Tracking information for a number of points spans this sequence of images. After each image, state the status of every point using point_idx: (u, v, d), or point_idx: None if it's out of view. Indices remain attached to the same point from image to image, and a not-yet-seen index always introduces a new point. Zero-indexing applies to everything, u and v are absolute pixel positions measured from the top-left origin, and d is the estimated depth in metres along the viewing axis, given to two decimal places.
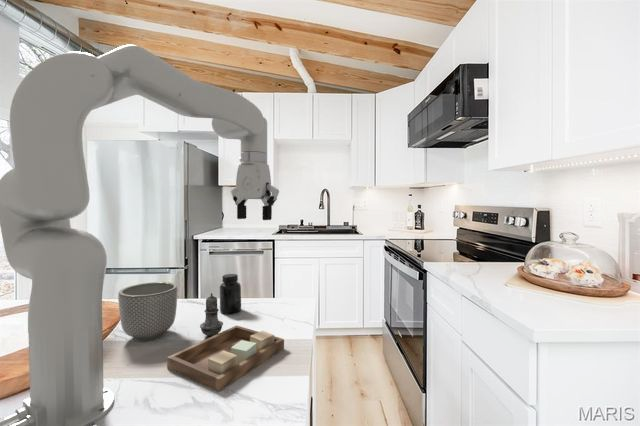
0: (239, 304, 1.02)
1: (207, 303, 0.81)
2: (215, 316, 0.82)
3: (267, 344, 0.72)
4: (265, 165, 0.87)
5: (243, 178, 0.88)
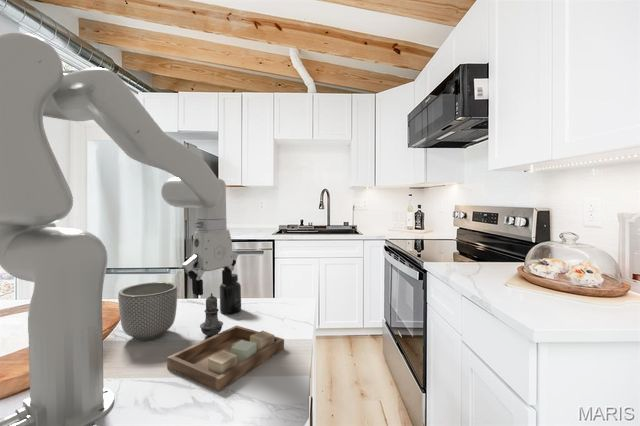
0: (239, 304, 1.02)
1: (207, 303, 0.81)
2: (215, 316, 0.82)
3: (267, 344, 0.72)
4: None
5: (215, 247, 0.79)
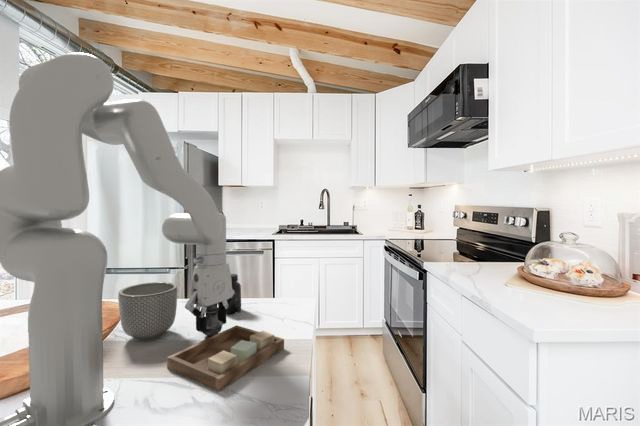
0: (239, 304, 1.02)
1: None
2: (215, 316, 0.82)
3: (267, 344, 0.72)
4: None
5: (214, 282, 0.79)
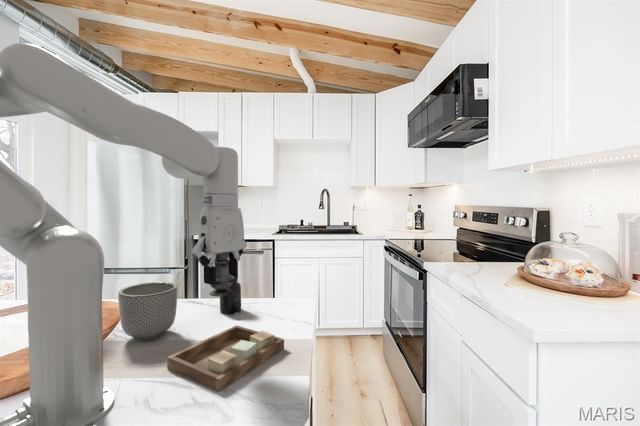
0: (239, 304, 1.02)
1: None
2: (226, 267, 0.71)
3: (267, 344, 0.72)
4: None
5: (225, 227, 0.68)
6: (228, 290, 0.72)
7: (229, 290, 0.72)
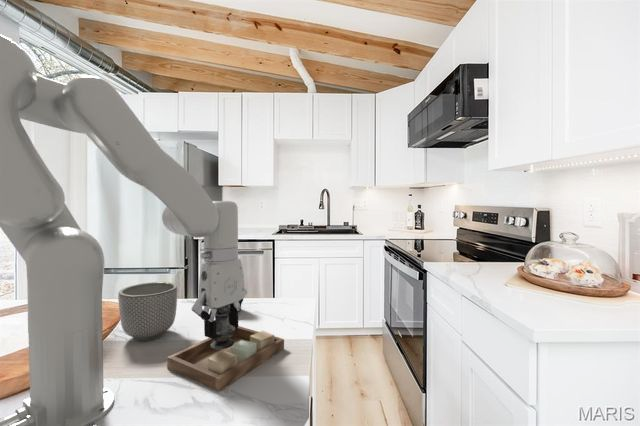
0: None
1: None
2: (226, 319, 0.71)
3: (267, 344, 0.72)
4: None
5: (225, 281, 0.69)
6: (229, 341, 0.72)
7: (230, 341, 0.72)
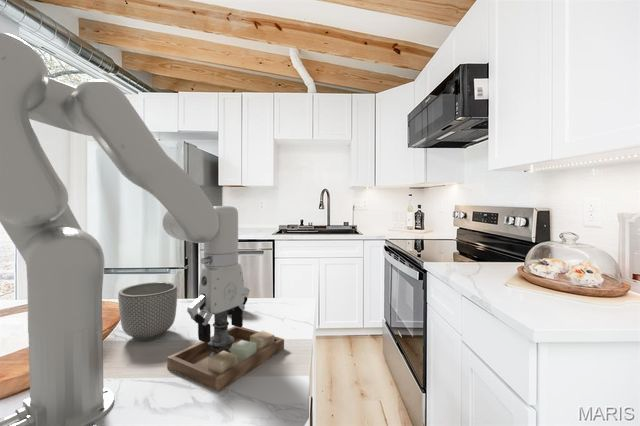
0: None
1: (216, 316, 0.70)
2: (225, 331, 0.71)
3: (267, 344, 0.72)
4: None
5: (225, 286, 0.69)
6: None
7: None
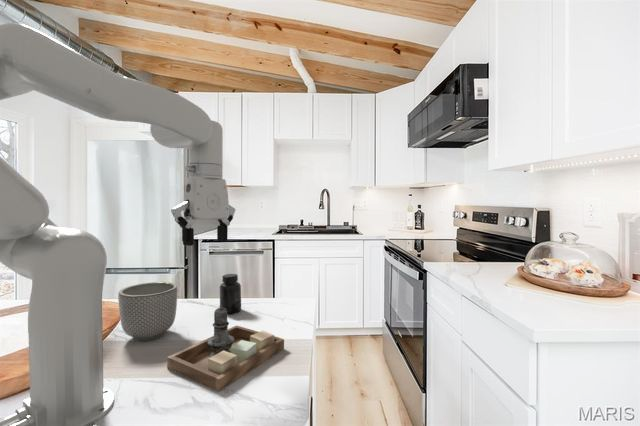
0: (239, 304, 1.02)
1: (216, 316, 0.70)
2: (225, 331, 0.71)
3: (267, 344, 0.72)
4: None
5: (208, 195, 0.73)
6: None
7: None
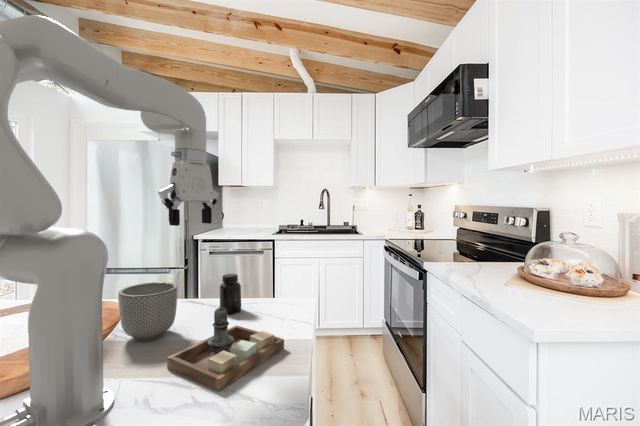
0: (239, 304, 1.02)
1: (216, 316, 0.70)
2: (225, 331, 0.71)
3: (267, 344, 0.72)
4: None
5: (193, 178, 0.78)
6: None
7: None
